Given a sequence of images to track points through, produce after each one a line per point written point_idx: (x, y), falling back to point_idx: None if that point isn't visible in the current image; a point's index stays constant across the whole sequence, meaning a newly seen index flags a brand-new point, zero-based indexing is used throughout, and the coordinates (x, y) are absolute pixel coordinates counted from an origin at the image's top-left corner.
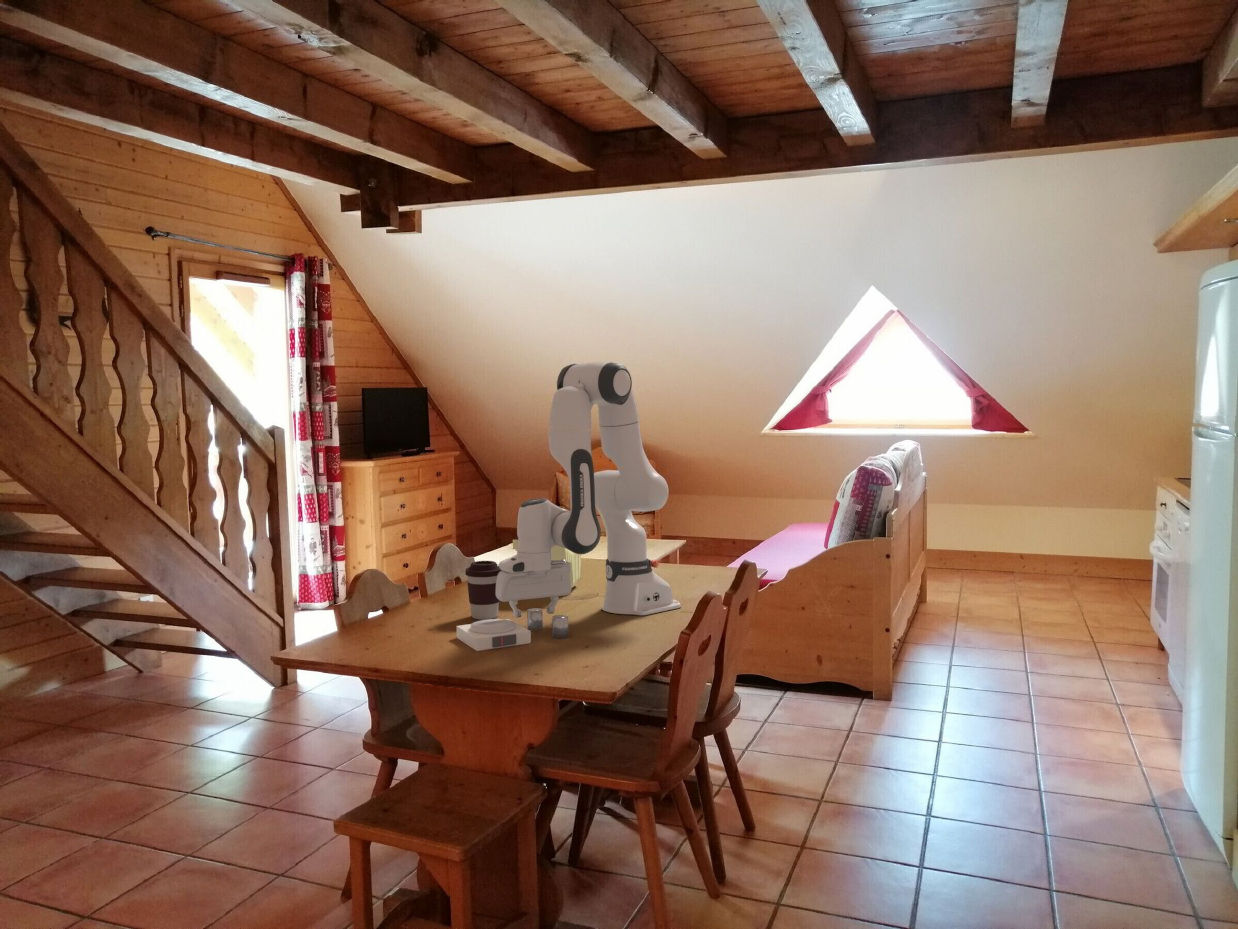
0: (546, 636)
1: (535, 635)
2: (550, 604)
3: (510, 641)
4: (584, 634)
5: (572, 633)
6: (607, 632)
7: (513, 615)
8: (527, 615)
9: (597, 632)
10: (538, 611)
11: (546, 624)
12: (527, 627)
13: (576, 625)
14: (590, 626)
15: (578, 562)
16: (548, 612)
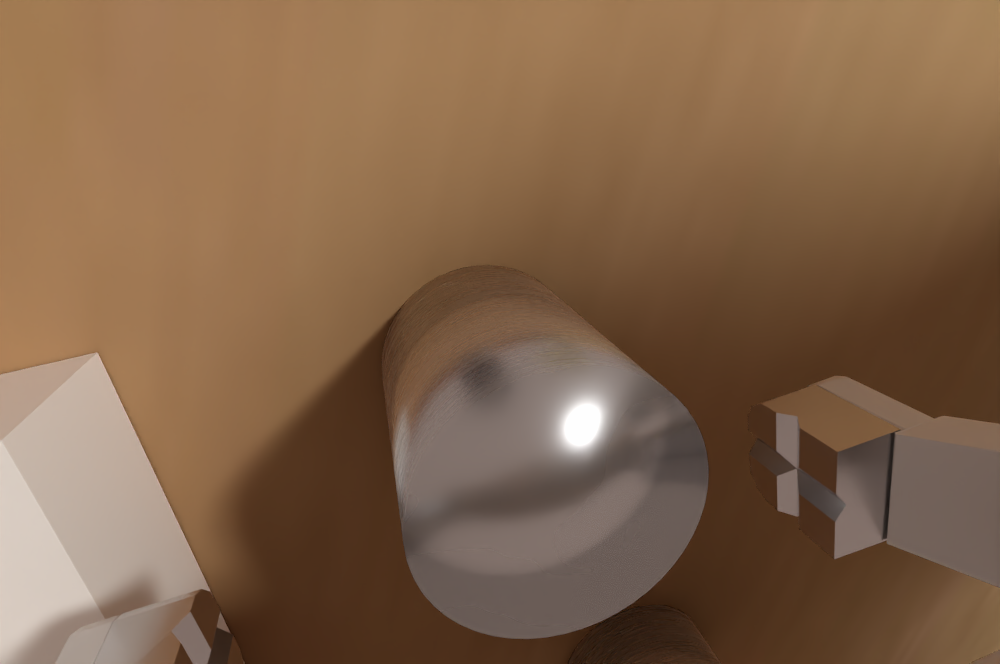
0: (518, 652)
1: (422, 611)
2: (933, 463)
3: None
4: (822, 627)
5: (758, 589)
6: (979, 596)
7: (73, 637)
8: (397, 489)
9: (927, 587)
10: (594, 622)
11: (679, 173)
12: (383, 383)
13: (921, 328)
14: (992, 399)
15: None
16: (763, 464)
